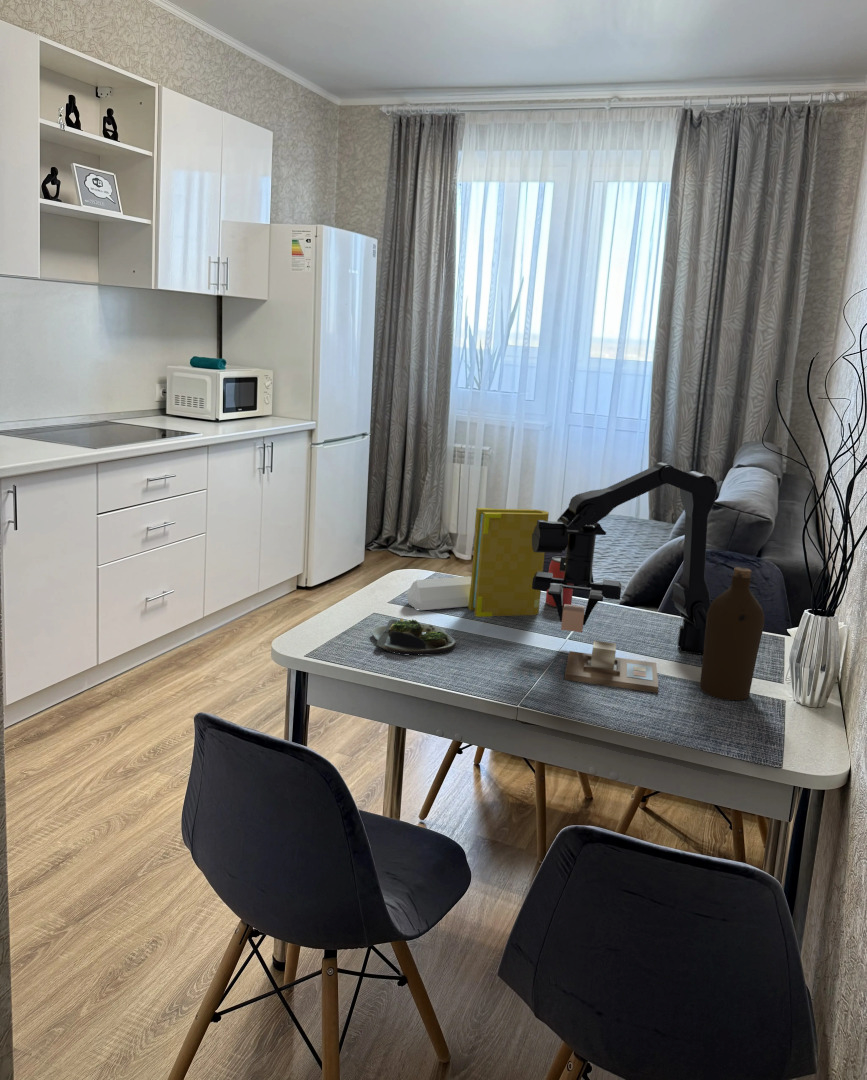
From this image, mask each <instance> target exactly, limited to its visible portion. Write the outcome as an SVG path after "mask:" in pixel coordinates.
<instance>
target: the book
mask: <svg viewBox="0 0 867 1080" xmlns="http://www.w3.org/2000/svg"><path fill="white" fill-rule="evenodd" d="M475 510H476V513H475V523H474V524H475V526H474V527H475V533H474V542H473V543H474V544H473V545H474V546H473V554H472V555H473V557H472V566H471V567H472V569H471V576H472V577H471V589H470V595H469V605H468V606H467V608H468V610H469V611H470V612H471V611H474V613H473V614H474V616H476V617H477V618H480V617H484V618H485V617H486V618H487V617H489V618H490V617H495V616H496V617H500V616H501V617H502V616H503V617H504V616H510V617H511V616H513V617H514V616H534V615H536V616H537V615H538V614H540V613H539V612H540V602H541V592H542V590H534V589H532V582H533V577H534V575H535V573H536V572H538V571H539V572H544V564H545V563H544V562H545V554H546V553H541V552H534V551H533V548H532V533H533V532H534V528H535V526H536V525H537V520H544V521H549V513H550V512H549V511H547V510H541V509H533V508H532V509H531V508H530V509H528V508H526V509H525V508H524V509H523V508H517V509H516V508H491V507H476V509H475Z"/></svg>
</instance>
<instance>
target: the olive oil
mask: <svg viewBox="0 0 867 1080" xmlns="http://www.w3.org/2000/svg"><path fill="white" fill-rule="evenodd" d="M751 575H752V570H751V569H750V568H746V567H742V566H741V567H740V566H739V567H738V566H736V567H734V568H733V574H732V577H731V586H729V587H728V588H727V589H726V590H724V592H722V593H721V594H719V595H718V596H717V597H715V598H714V599H712V601H711V604H710V606H709V609H708V611H707V617H706V629H705V641H704V651H703V654H702V657H701V658H700V659H701V660H700V665H701V672H700V682H699V689H700V690H701V691H702V692H703V693H704V694H706V695H708V696H710V697H714V698H717V699H720V700H724V701H743V700H746V699H748V698H749V697H750V694H751V693H750V692H751V689H752V683H753V677H754V673H755V667H756V664H757V663H756V662H757V658H758V654H759V649H760V645H761V640H762V635H763V630H764V626H765V613H764V610H763V607H762V605H761V603H759V601H758V599H757V598H756V597H755V595H754V594H753V593H752V591H751V589H750V585H751V580H752V577H751Z"/></svg>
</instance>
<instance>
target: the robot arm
mask: <svg viewBox="0 0 867 1080" xmlns="http://www.w3.org/2000/svg"><path fill="white" fill-rule="evenodd" d="M665 484H668V485H671V486H672V487H675V488H678V489H679V495H680V501H681V504H682V507H683V510H684V513H685V515H684V517H685V520H684V521H685V522H684V538H683V539H684V541H683V563H682V564H683V565H682V576H681V578H680V580H679V582H678V583H677V582H673V583H672V592H673V593H672V596H671V599H670V600H671V601H672V602H674V603H673V604H674V606H675V608H676V609H677V610H678V611H679V615H680V617H681V618H682V625H680V626H679V629H678V634H677V641H676V642H677V646H678V647H679V651H680V652H683V653H689V654H691V653H692V654H695V655H696V654H697V655H703V651H704V641H705V629H706V617H707V611H708V609H709V606H710V604H711V603H712V601H711V595H710V590H709V588H708V585H707V582H706V579H705V578H706V576H705V575H706V561H707V559H706V558H707V537H708V522H709V521H708V520H709V514H710V513H711V511H712V509H713V507H714V505H715V502H716V499H717V498H716V497H717V494H718V483H717V481H716V480H715V479H714V478H713V477H711V476H710V475H708V474H705V473H701V472H698V471H695V470H694V471H693V470H692V471H688V472H685V471H684V470H680V469H678V468H676V467H674V466H672V465H671V464H669V463H666V462H661V461H660V462H657V463H655V464H654V465H653V466H651V467H649V468H647V469H645V470H643V471H641V472H638V473H636V474H634V475H632V476H629V477H627V478H625V479H623V480H621V481H619V482H617V483H614V484H612V485H610V486H608V487H605V488H600V489H594V490H589V491H585V492H580V493H577V494H575V495H574V496H572V497H571V498H570V501H569V503H568V507H567V508H566V509H565V510H564V511H563V512H562V513H561V515H560V516H559V517H558V518H557V520H556V521H551V520H550V521H549V520H548V521H544V520H537V525H536V526H535V528H534V532H533V533H532V548H533V551H534V552H541V553H545V554H546V553H548V554H561V553H563V552H564V551H566V555H565V556H560V557H561V560H560V568H559V570H560V571H562V572H565V574H564V579H559V578H553V573H549V572H545V571H543V572H539V571H538V572H536V573H535V575H534V577H533V582H532V589H534V590H541V592H542V591H544V592H547V590H548V589H549V590H548V595H552V597H553V599H554V602H555V604H556V607H555V608H556V610H557V615H558V619H559V621H560V623H562V615H563V588H569V589H573V590H578V591H585V592H589V595H588V600H587V604H586V606H585V612H584V619H583V626H585V625H586V623H587V621H588V619H589V617H590V615H591V613H592V611H593V610H594V608H595V607H596V605H597V604H598V602H603V601H604V599H608V600H615V601H616V600H617V601H618V600H619V601H620V600H621V593H622V583H621V582H620V581H619V580H612V579H611V580H610V579H603V580H602V582H601V583H600V582H592V576H593V564H594V563H593V562H594V558H595V557H594V556H595V546H596V540H597V539H596V538H597V536H605V535H606V534H607V531H605V530H604V529H603V527H602V525H601V524H600V523H599V522H600V521H602V520H603V519H604V518H606V517H607V516H608V515H609V514H610V513H611V512H612V511H613V510H614V509H616V507H619V506H620V505H622V504H625V503H627V502H629V501H631V500H633V499H635V498H638V497H640V496H642V495H644V494H646V493H648V492H651V491H653V490H655V489H657V488H659V487H661V486H663V485H665ZM567 583H568V584H567ZM569 584H570V585H569ZM571 584H574V585H571Z"/></svg>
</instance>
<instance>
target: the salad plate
mask: <svg viewBox="0 0 867 1080" xmlns="http://www.w3.org/2000/svg"><path fill="white" fill-rule="evenodd" d="M422 632H426V634H423V633H422ZM371 633H372V636H373V638H375V640H376V641H377V642H376V646H377V647H379V648H382V649H383V650H384V651H386V650H388V651H391V652H395V653H400V654H409V655H413V656H421V655H420V654H435V655H441V654H440V653H442V654H446V653H449V652H450V651H451V650H453V649H454V648H455V646H456V639H455V638H453V637H452V636H451V635H449V634H448V633H447V632H446V631H445V630H443V629H442V628H441V627H439V626H436V625H432V624H426V623H420V622H419V621H417V620H416V619H409V620H404V618H400V619H399V620H397V619H389V621H388V623H387V625H381V626H378V627H376V628H375V627H374V629H372V631H371ZM388 651H387V652H388ZM448 651H449V652H448ZM391 652H390V653H391ZM445 652H446V653H445ZM418 654H419V655H418ZM409 655H408V656H409Z"/></svg>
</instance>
